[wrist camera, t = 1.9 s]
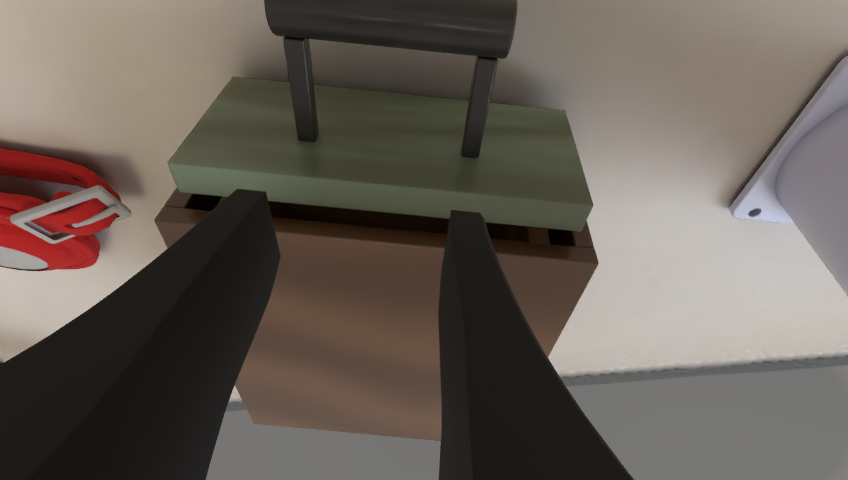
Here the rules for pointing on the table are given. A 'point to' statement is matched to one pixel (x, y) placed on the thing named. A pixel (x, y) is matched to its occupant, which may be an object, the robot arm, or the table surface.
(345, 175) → the drawer
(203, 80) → the table surface
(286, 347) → the cabinet
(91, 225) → the tracker holder
